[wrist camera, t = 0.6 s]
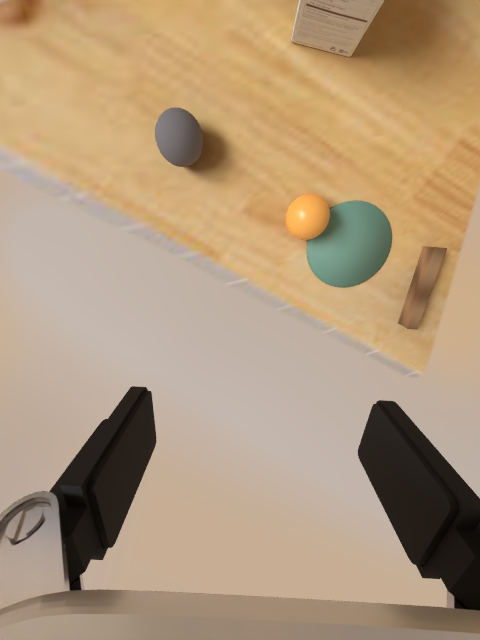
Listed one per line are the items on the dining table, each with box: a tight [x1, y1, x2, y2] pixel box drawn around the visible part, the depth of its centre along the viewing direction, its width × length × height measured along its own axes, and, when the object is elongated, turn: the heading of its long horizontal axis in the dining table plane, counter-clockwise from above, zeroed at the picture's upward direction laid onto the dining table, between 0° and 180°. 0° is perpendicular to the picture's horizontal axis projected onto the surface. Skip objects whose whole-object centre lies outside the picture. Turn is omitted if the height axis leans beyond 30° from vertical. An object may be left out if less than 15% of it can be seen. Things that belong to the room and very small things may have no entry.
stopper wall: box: [398, 247, 447, 329], centre depth 35 cm, size 12×2×2 cm, turn 177°
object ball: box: [286, 193, 330, 240], centre depth 30 cm, size 6×6×6 cm
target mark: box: [307, 201, 392, 287], centre depth 34 cm, size 12×12×1 cm
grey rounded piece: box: [155, 108, 203, 167], centre depth 27 cm, size 6×6×6 cm
